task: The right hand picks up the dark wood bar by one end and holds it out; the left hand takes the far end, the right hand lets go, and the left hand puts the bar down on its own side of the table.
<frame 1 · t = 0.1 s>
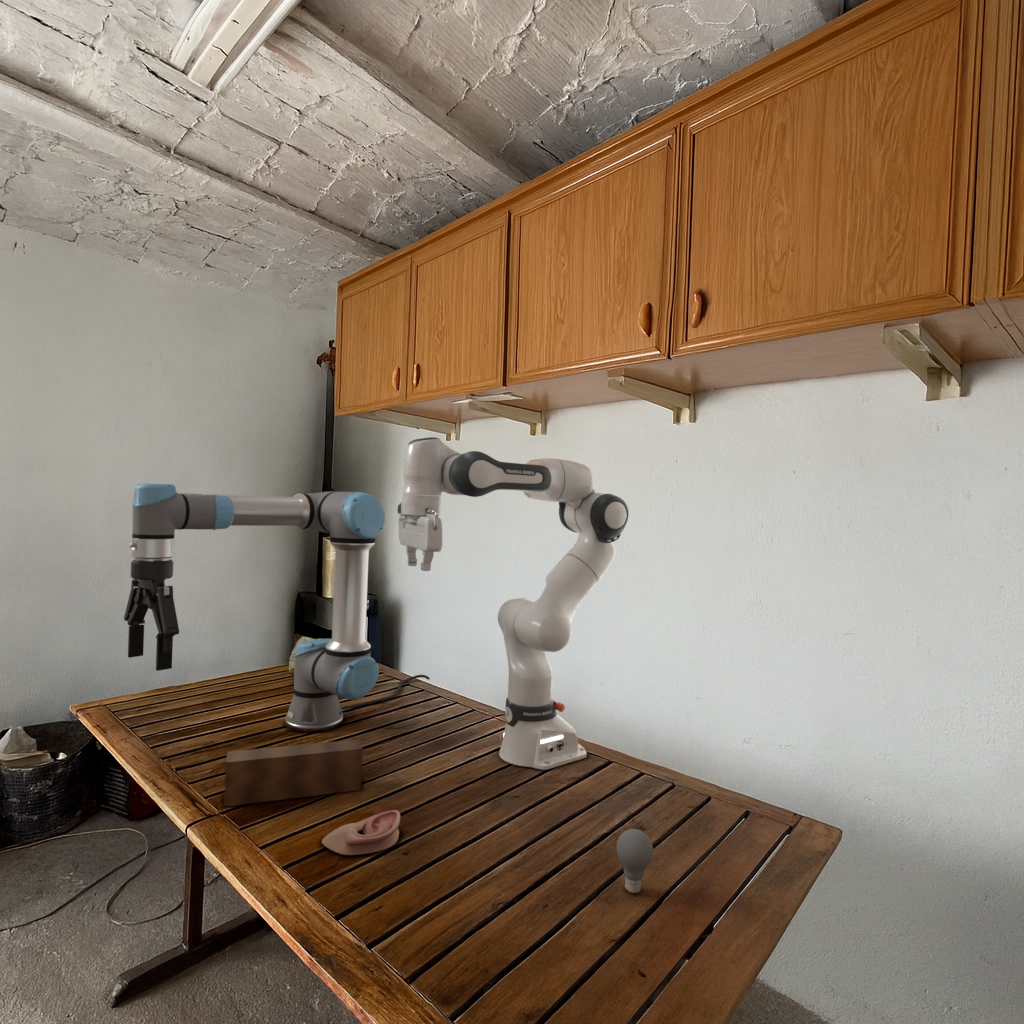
left hand: (149, 662, 129), 28 cm above the table, tool pointing down, fingers open, 13 cm apart
right hand: (418, 568, 145), 48 cm above the table, tool pointing down, fingers open, 8 cm apart
light bulb: (632, 891, 106), on the table
bar: (294, 792, 135), on the table
anatomical model: (361, 840, 118), on the table
fossil: (316, 681, 215), on the table
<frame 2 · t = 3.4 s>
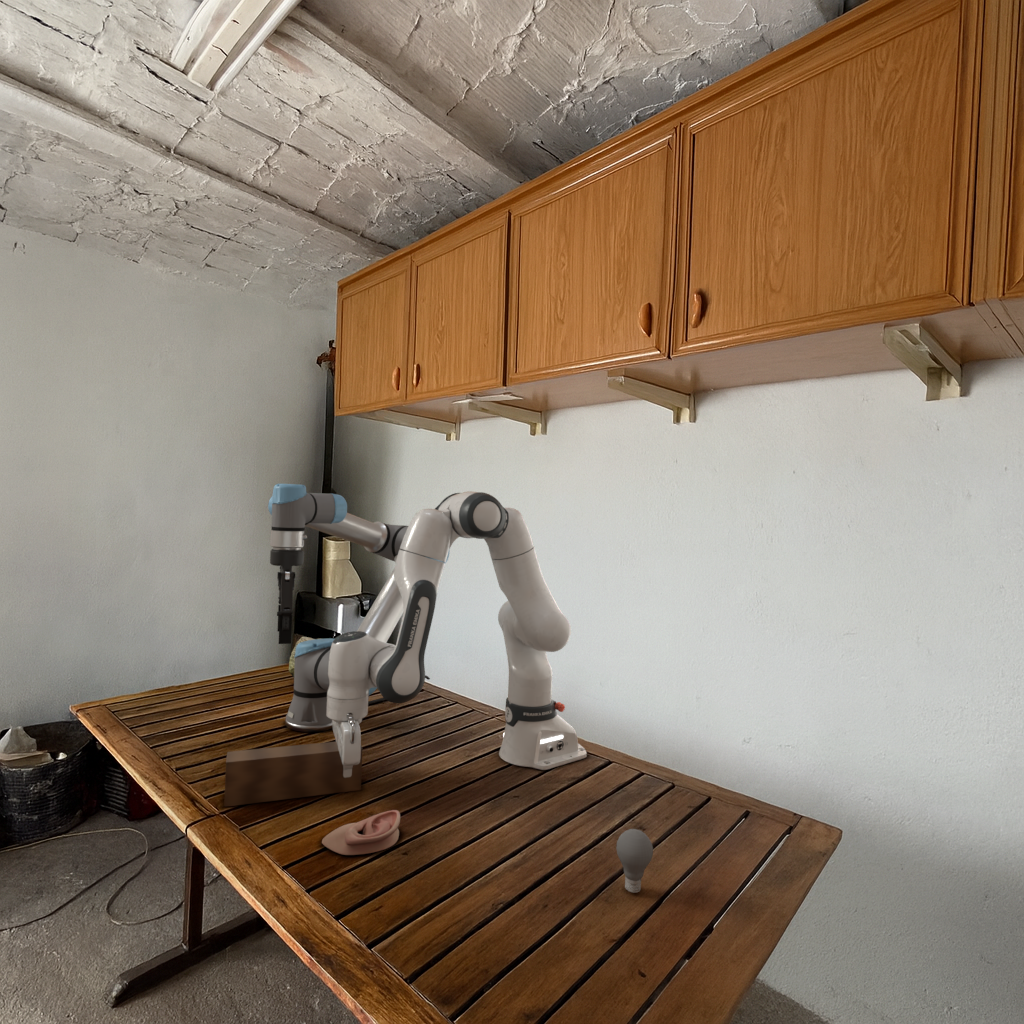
left hand: (284, 637, 151), 29 cm above the table, tool pointing down, fingers open, 13 cm apart
right hand: (345, 769, 139), 4 cm above the table, tool pointing down, fingers closed on bar, 5 cm apart
bar: (294, 792, 135), on the table, touching right hand
everything else where it was.
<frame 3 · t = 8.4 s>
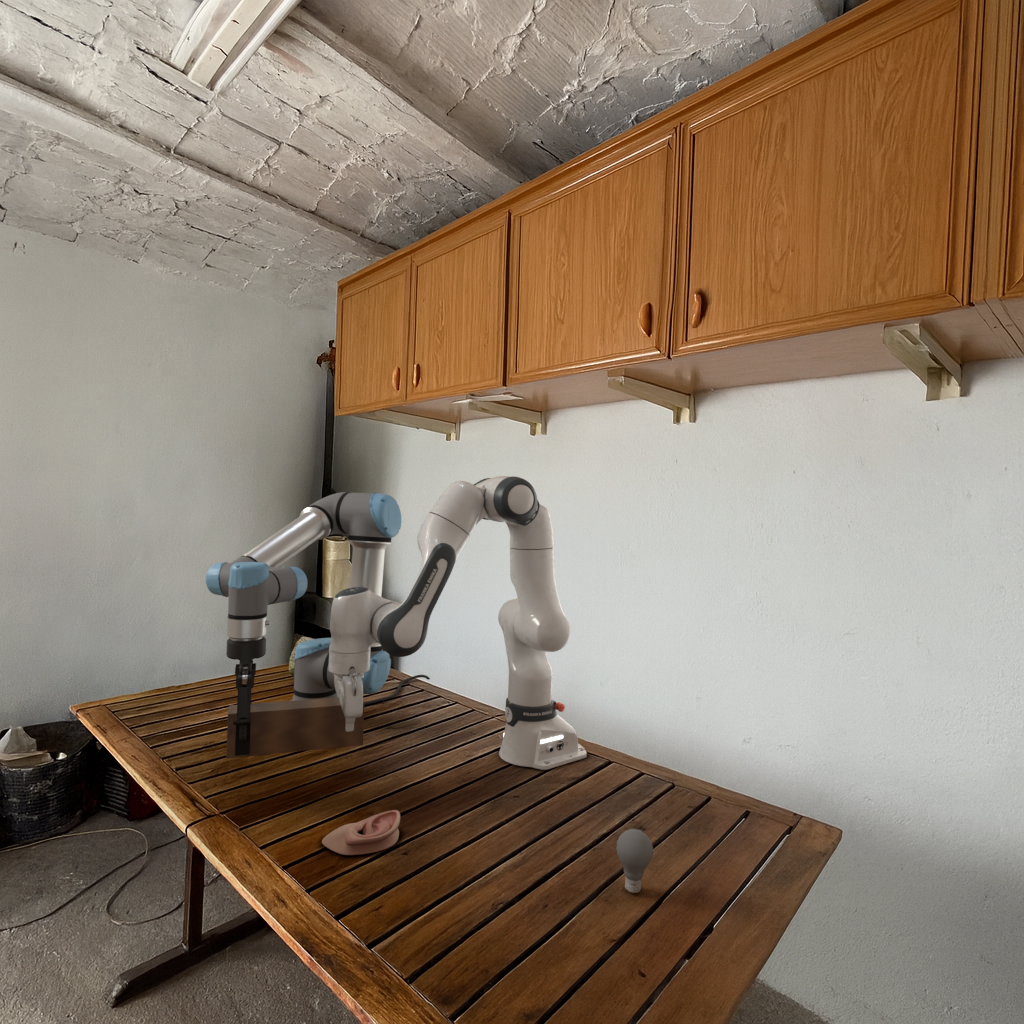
left hand: (242, 748, 131), 11 cm above the table, tool pointing down, fingers closed on bar, 6 cm apart
right hand: (347, 724, 139), 14 cm above the table, tool pointing down, fingers closed on bar, 5 cm apart
bar: (296, 746, 135), point 10 cm above the table, touching left hand, right hand
everything else where it was.
when the right hand's fingers open (14 cm above the table, at t = 9.3 s): bar stays where it is, held by the left hand.
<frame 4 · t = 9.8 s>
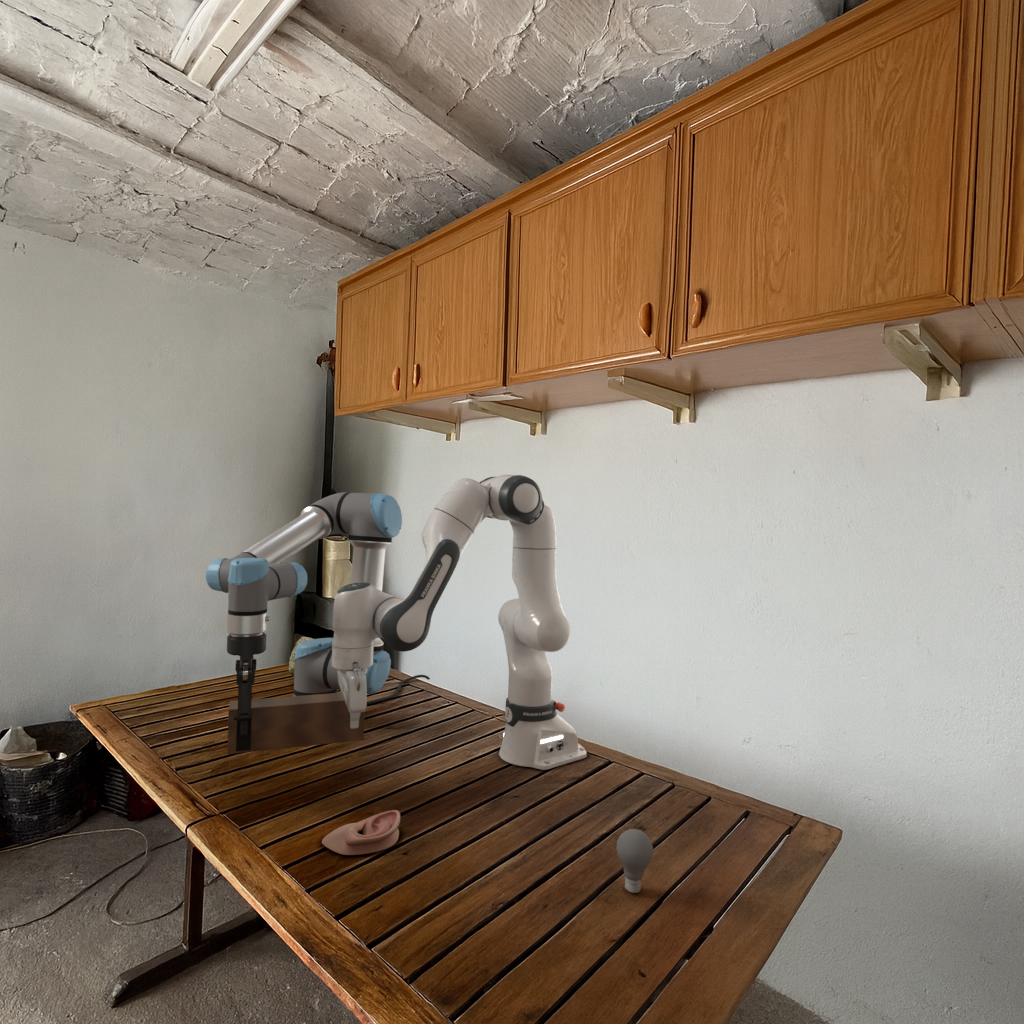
left hand: (243, 743, 132), 11 cm above the table, tool pointing down, fingers closed on bar, 6 cm apart
right hand: (351, 719, 139), 15 cm above the table, tool pointing down, fingers open, 8 cm apart
bar: (297, 741, 135), point 11 cm above the table, touching left hand
everything else where it was.
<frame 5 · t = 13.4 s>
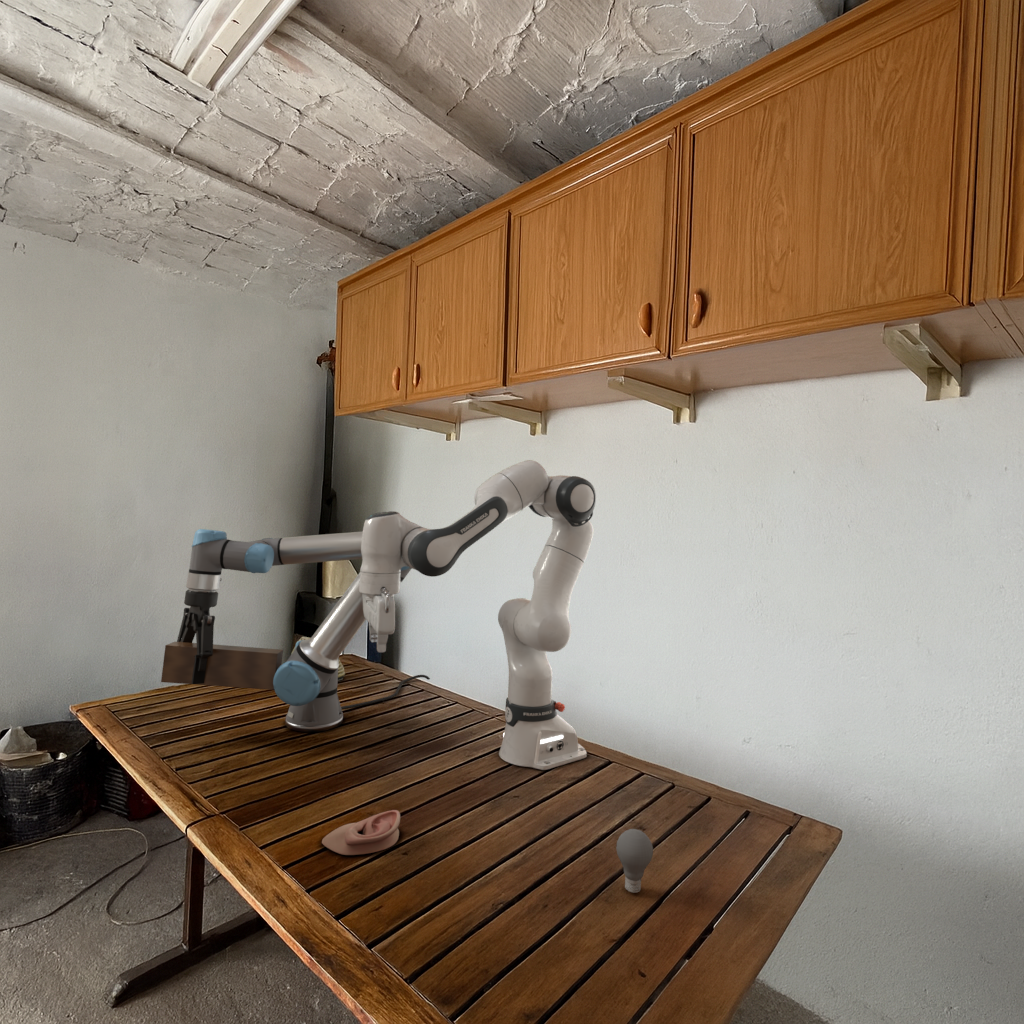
left hand: (189, 678, 160), 16 cm above the table, tool pointing down, fingers closed on bar, 9 cm apart
right hand: (377, 646, 141), 31 cm above the table, tool pointing down, fingers open, 8 cm apart
bar: (221, 683, 160), point 15 cm above the table, touching left arm, left hand
everything else where it was.
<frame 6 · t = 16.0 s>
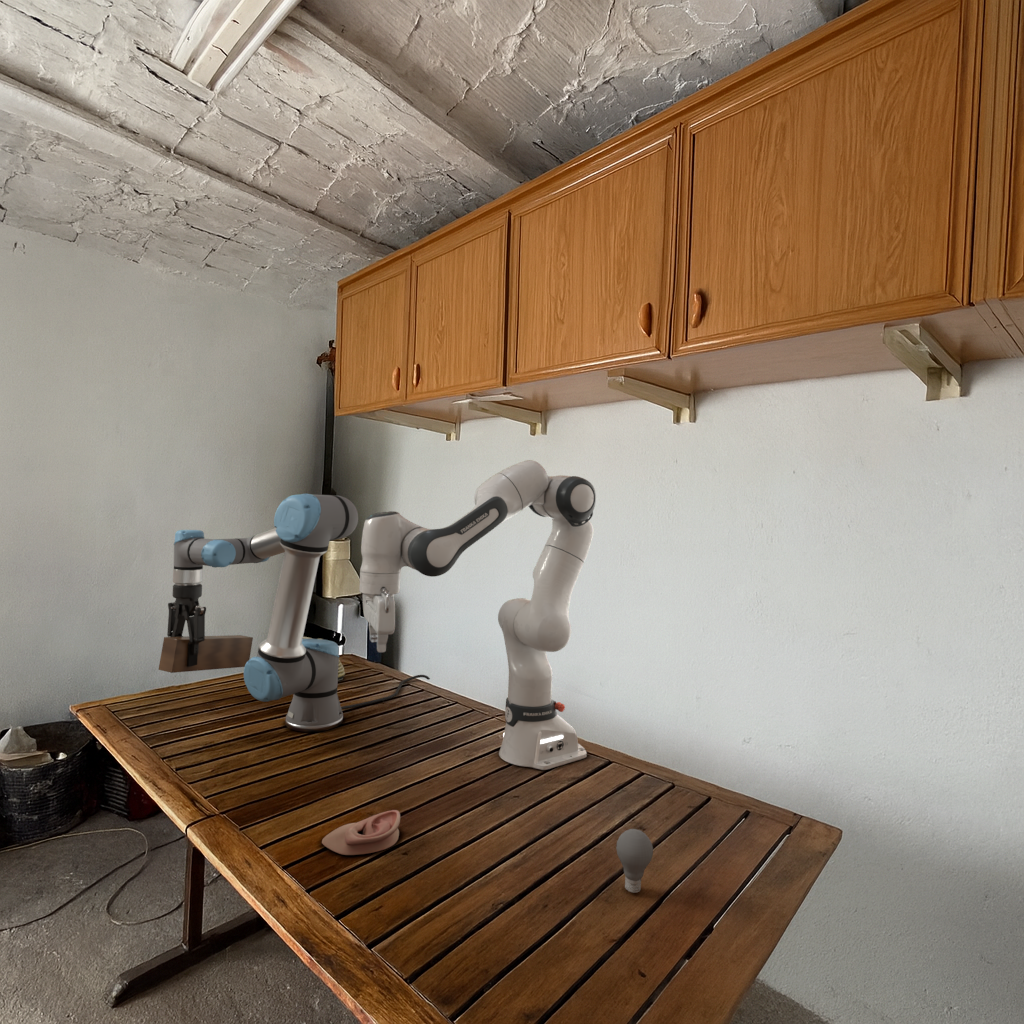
left hand: (184, 663, 182), 13 cm above the table, tool pointing down, fingers closed on bar, 6 cm apart
right hand: (377, 646, 141), 31 cm above the table, tool pointing down, fingers open, 8 cm apart
bar: (205, 668, 189), point 10 cm above the table, tilted 9°, touching left hand
everything else where it was.
when the left hand's fingers open (2 cm above the table, at t = 17.5 s): bar stays where it is, on the table.
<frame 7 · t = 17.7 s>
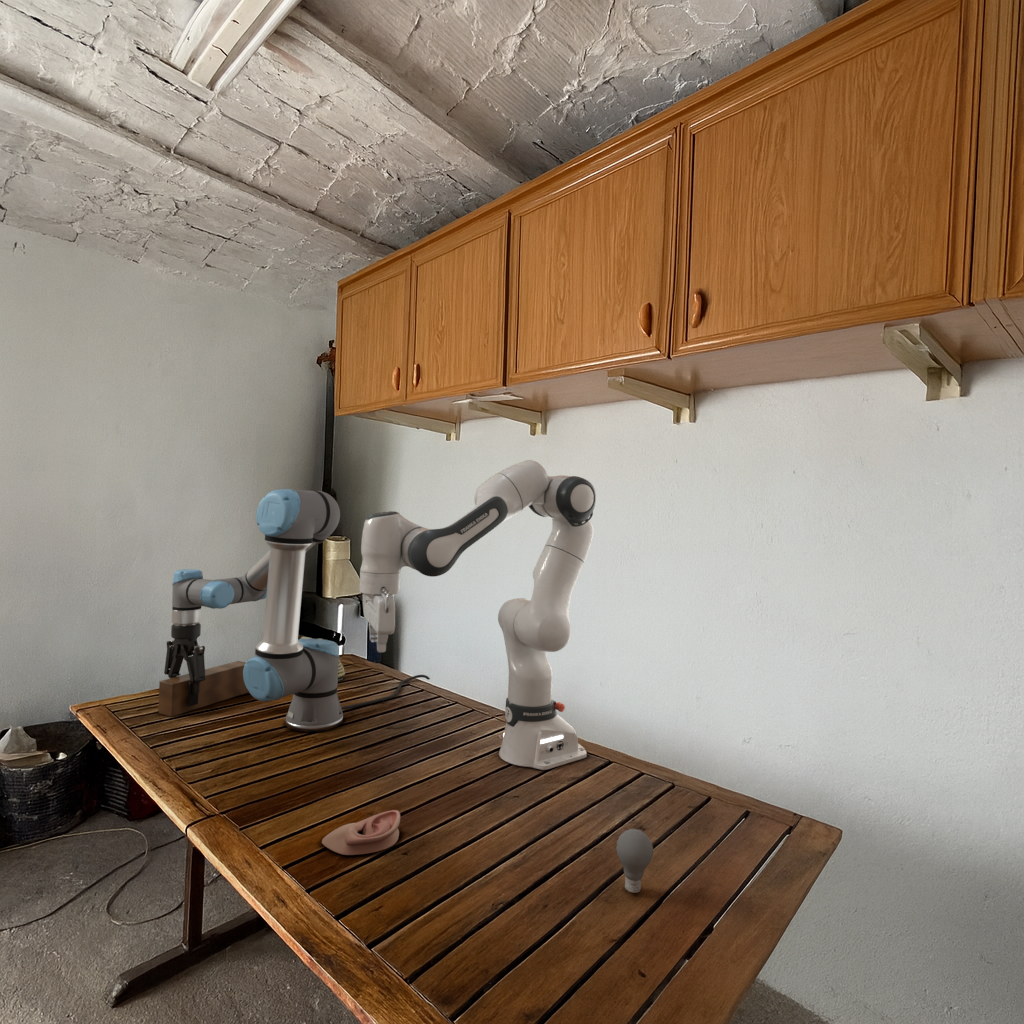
left hand: (183, 702, 182), 2 cm above the table, tool pointing down, fingers open, 7 cm apart
right hand: (377, 646, 141), 31 cm above the table, tool pointing down, fingers open, 8 cm apart
bar: (206, 701, 190), on the table
everything else where it was.
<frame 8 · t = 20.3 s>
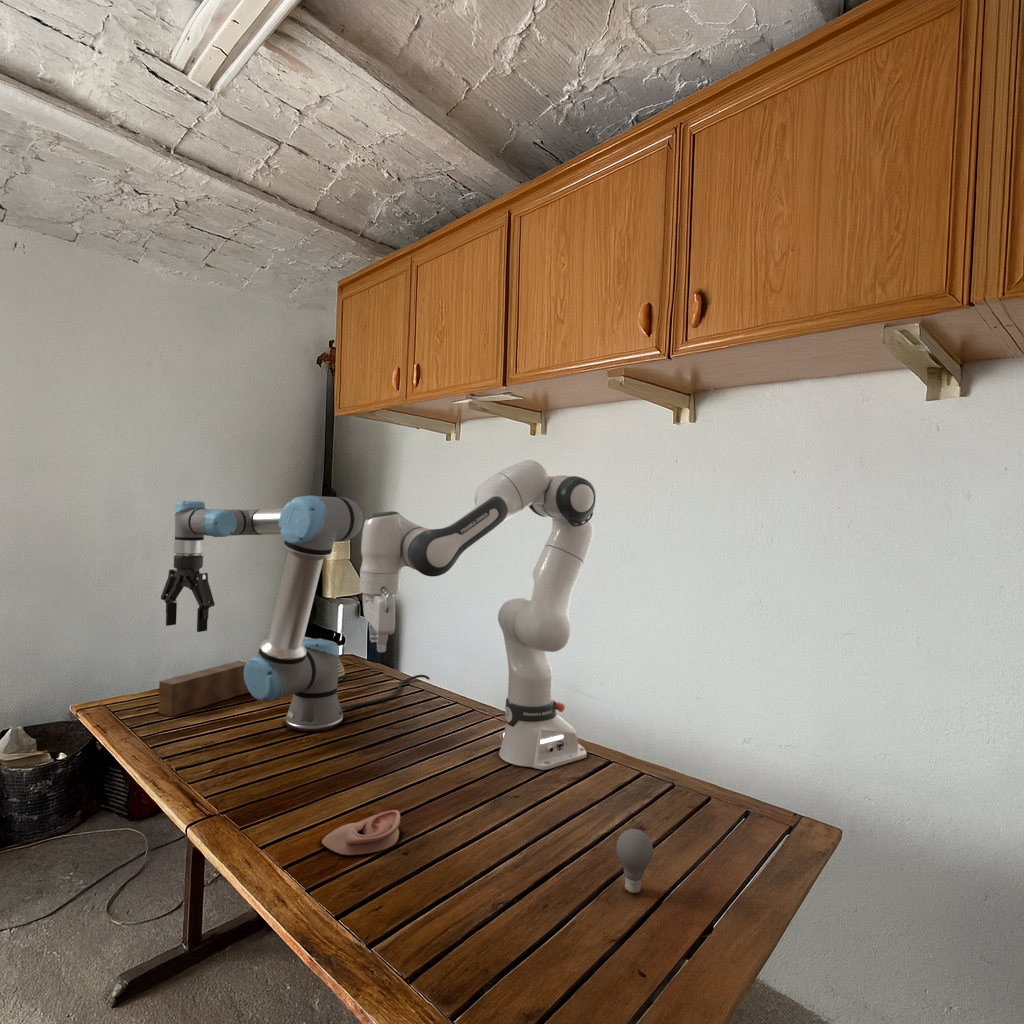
left hand: (186, 628, 182), 23 cm above the table, tool pointing down, fingers open, 13 cm apart
right hand: (377, 646, 141), 31 cm above the table, tool pointing down, fingers open, 8 cm apart
nothing on the table moved.
at the end: bar inside the target area (7.8 cm from its centre), on the table; the left hand is holding nothing; the right hand is holding nothing; bar at rest at the end (0.0 cm/s) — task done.
